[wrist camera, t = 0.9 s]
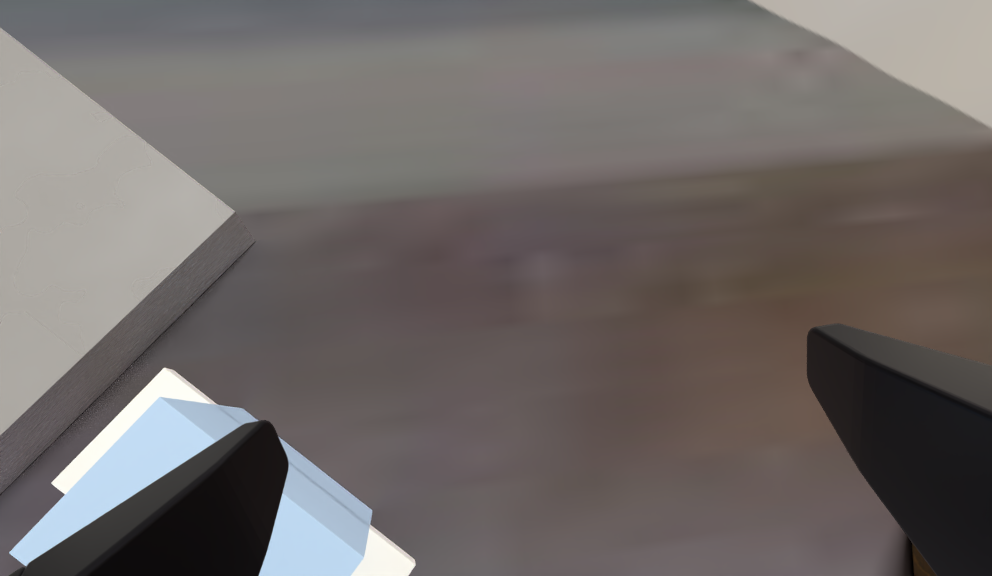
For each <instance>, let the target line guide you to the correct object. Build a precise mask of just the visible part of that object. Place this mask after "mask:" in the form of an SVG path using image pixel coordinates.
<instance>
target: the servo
mask: <svg viewBox="0 0 992 576" xmlns="http://www.w3.org/2000/svg"><path fill="white" fill-rule="evenodd" d="M255 421H258V420H257V419H255V418H254V417H253V416H251V415H250V414H249V413H248V412H246V411H245V410H244V409H243V408H236V407H229V406H222V405H217V404H216V403H215V402H213V401H212V400H211V399H210V398H208V397H207V396H206V395H204V394H203V393H202V392H201V391H199V390H198V389H197V388H196V387H194V386H193V385H192V384H190V383H189V382H188V381H187V380H185V379H184V378H183V377H182V376H180V375H179V374H178V373H176V372H175V371H174V370H171V369H168V368H164V369H163V370H162V371H161V372H160V373H159V374H158V375H157V376H156V377H155V378H154V379H153V380H152V381H151V382H150V383H149V384H148V385H147V386H146V387H145V388H144V389H143V390H142V391H141V392H140V393H139V394H138V395H137V396H136V397H135V398H134V399H133V400H132V401H131V402H130V403H129V404H128V405H127V406H126V407H125V408H124V409H123V410H122V411H121V412H120V413H119V414H118V415H117V417H116V418H115V419H114V420H113V421H112V422H111V423H110V424H109V425H108V426H107V427H106V428H105V429H104V430H103V431H102V432H101V433H100V434H99V435H98V436H97V437H96V438H95V439H94V440H93V441H92V442H91V443H90V444H89V445H88V446H87V447H86V448H85V449H84V450H83V451H82V452H81V453H80V454H79V455H78V456H77V457H76V458H75V459H74V460H73V461H72V462H71V463H70V464H69V465H68V466H67V467H66V468H65V470H64V471H63V472H62V473H61V474H60V475H59V476H58V477H57V478H56V479H55V480H54V481H53V482H52V483H51V484H53V485H54V486H55V487H56V488H58V489H59V490H60V491H61V492H63V493H64V494H65V495H64V496H63V497H62V498H61V499H60V500H59V502H58V503H57V504H56V505H55V506H54V507H53V508H52V509H51V510H50V511H49V512H48V513H47V514H46V515H45V516H44V517H43V518H42V519H41V520H40V521H39V522H38V523H37V524H36V525H35V526H34V527H33V528H32V530H31V531H30V532H29V533H28V534H27V535H26V536H25V537H24V538H23V539H22V540H21V541H20V542H19V543H18V544H17V545H16V546H15V547H14V548H13V549H12V550H11V551H10V552H9V553H10V554H11V555H12V556H13V557H15V558H16V559H17V560H19V561H20V562H21V563H22V564H24V565H25V566H27V564H28V563H29V562H31V561H32V560H34V559H35V558H37V557H38V556H40V555H42V554H43V553H45V552H46V551H48V550H49V549H51V548H52V547H54V546H55V545H57V544H59V543H60V542H62V541H63V540H65V539H66V538H68V537H69V536H71V535H72V534H74V533H76V532H77V531H79V530H80V529H82V528H83V527H85V526H86V525H88V524H89V523H91V522H93V521H94V520H96V519H97V518H99V517H100V516H102V515H103V514H105V513H106V512H108V511H110V510H111V509H113V508H114V507H116V506H117V505H119V504H120V503H122V502H124V501H125V500H127V499H128V498H130V497H131V496H133V495H134V494H136V493H137V492H139V491H141V490H142V489H144V488H145V487H147V486H148V485H150V484H151V483H153V482H154V481H156V480H158V479H159V478H161V477H162V476H164V475H165V474H167V473H168V472H170V471H171V470H173V469H175V468H176V467H178V466H179V465H181V464H182V463H184V462H185V461H187V460H188V459H190V458H192V457H193V456H195V455H196V454H198V453H199V452H201V451H202V450H204V449H206V448H207V447H209V446H210V445H212V444H213V443H215V442H216V441H218V440H219V439H221V438H223V437H224V436H226V435H227V434H229V433H230V432H232V431H233V430H235V429H236V428H238V427H240V426H241V425H243V424H245V423H250V422H255ZM279 439H280V441H281V443H282V446H283V448H284V450H285V452H286V454H287V457H288V462H289V468H288V474H287V478H286V482H285V486H284V489H283V493H282V497H281V501H280V505H279V509H278V513H277V516H276V520H275V524H274V528H273V532H272V536H271V540H270V543H269V546H268V550H267V553H266V556H265V559H264V562H263V565H262V568H261V571H260V573H259V576H408V575H409V574H410V572H411V571H412V569H413V568H414V567H415V565H416V564H415V559H413V558H412V557H411V556H409V555H408V554H407V553H406V552H404V551H403V550H402V549H401V548H399V547H398V546H397V545H395V544H394V543H393V542H392V541H390V540H389V539H388V538H387V537H385V536H384V535H383V534H381V533H380V532H379V531H378V530H376V529H375V528H374V527H373V526H371V525H370V522H371V516H372V510H371V509H370V508H369V507H367V506H366V505H365V504H364V503H362V502H361V501H360V500H358V499H357V498H356V497H355V496H353V495H352V494H351V493H350V492H348V491H347V490H346V489H344V488H343V487H342V486H341V485H339V484H338V483H337V482H336V481H334V480H333V479H332V478H330V477H329V476H328V475H327V474H325V473H324V472H323V471H322V470H320V469H319V468H318V467H316V466H315V465H314V464H313V463H311V462H310V461H309V460H307V459H306V458H305V457H304V456H302V455H301V454H300V453H299V452H297V451H296V450H295V449H293V448H292V447H291V446H290V445H288V444H287V443H286V442H285V441H283V440H282V439H281V438H279Z"/></svg>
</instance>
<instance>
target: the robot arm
mask: <svg viewBox="0 0 992 576" xmlns="http://www.w3.org/2000/svg"><path fill="white" fill-rule="evenodd" d="M807 378H808V382H809V385H810V387H811V389H812V391H813V393H814V394H815V396H816V398H817V399H818V401H819V403H820V405H821V406H822V408H823V410H824V411H825V413H826V415H827V417H828V418H829V420H830V422H831V424H832V425H833V427H834V429H835V430H836V432H837V434H838V436H839V437H840V439H841V441H842V443H843V444H844V446H845V448H846V449H847V451H848V453H849V455H850V456H851V458H852V459H853V461H854V463H855V464H856V466H857V468H858V469H859V471H860V472H861V474H862V475H863V476H864V478H865V479H866V481H867V482H868V483H869V485H870V486H871V488H872V489H873V490H874V492H875V493H876V494H877V496H878V497H879V498H880V500H881V501H882V502H883V504H884V505H885V506H886V508H887V509H888V510H889V512H890V513H891V515H892V516H893V517H894V519H895V520H896V521H897V523H898V524H899V525H900V527H901V528H902V529H903V531H904V532H905V533H906V535H907V536H908V537H909V539H910V540H911V541H912V543H913V544H914V546H915V547H916V548H917V550H918V551H919V552H920V554H921V555H922V556H923V558H924V559H925V560H926V562H927V563H928V564H929V566H930V567H931V568H932V570H933V571H934V572H935V574H936V575H937V576H992V365H988V364H984V363H981V362H977V361H973V360H970V359H966V358H962V357H959V356H955V355H952V354H948V353H944V352H941V351H937V350H933V349H930V348H926V347H923V346H919V345H915V344H912V343H908V342H904V341H901V340H897V339H894V338H890V337H886V336H883V335H879V334H875V333H872V332H868V331H864V330H861V329H857V328H854V327H850V326H846V325H843V324H830V325H824V326H818V327H814V328H811V329H810V331H809V332H808V335H807ZM288 468H289V462H288V457H287V454H286V452H285V450H284V448H283V446H282V443H281V441H280V439H279V437H278V435H277V433H276V430H275V428H274V426H273V425H272V424H271V423H270V422H269V421H266V420H261V421H255V422H250V423H245V424H243V425H241V426H240V427H238V428H236V429H235V430H233V431H232V432H230V433H229V434H227V435H226V436H224V437H223V438H221V439H219V440H218V441H216V442H215V443H213V444H212V445H210V446H209V447H207V448H206V449H204V450H202V451H201V452H199V453H198V454H196V455H195V456H193V457H192V458H190V459H188V460H187V461H185V462H184V463H182V464H181V465H179V466H178V467H176V468H175V469H173V470H171V471H170V472H168V473H167V474H165V475H164V476H162V477H161V478H159V479H158V480H156V481H154V482H153V483H151V484H150V485H148V486H147V487H145V488H144V489H142V490H141V491H139V492H137V493H136V494H134V495H133V496H131V497H130V498H128V499H127V500H125V501H124V502H122V503H120V504H119V505H117V506H116V507H114V508H113V509H111V510H110V511H108V512H106V513H105V514H103V515H102V516H100V517H99V518H97V519H96V520H94V521H93V522H91V523H89V524H88V525H86V526H85V527H83V528H82V529H80V530H79V531H77V532H76V533H74V534H72V535H71V536H69V537H68V538H66V539H65V540H63V541H62V542H60V543H59V544H57V545H55V546H54V547H52V548H51V549H49V550H48V551H46V552H45V553H43V554H42V555H40V556H38V557H37V558H35V559H34V560H32V561H31V562H29V563H28V564H27V566H26V567H22V568H20V569H18V570H17V571H15V572H13V573H12V574H10V575H9V576H259V573H260V571H261V568H262V565H263V562H264V559H265V556H266V553H267V550H268V546H269V543H270V540H271V536H272V532H273V528H274V524H275V520H276V516H277V513H278V509H279V505H280V501H281V497H282V493H283V489H284V486H285V482H286V478H287V474H288Z"/></svg>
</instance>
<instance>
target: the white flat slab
mask: <svg viewBox="0 0 992 576" xmlns="http://www.w3.org/2000/svg"><path fill="white" fill-rule="evenodd" d="M254 242H255V239H254V238H253V237H252V235H251V234H250V232H249V231H248V229H247V228H246V227H245V225H244V224H243V222H242V221H241V219H240V218H239V217H238V215H237V214H236V212H235V211H234V210H232V209H231V208H230V207H228V206H227V205H226V204H225V203H223V202H222V201H221V200H220V199H218V198H217V197H216V196H214V195H213V194H212V193H211V192H209V191H208V190H207V189H205V188H204V187H203V186H202V185H200V184H199V183H198V182H197V181H195V180H194V179H193V178H191V177H190V176H189V175H188V174H186V173H185V172H184V171H183V170H181V169H180V168H179V167H177V166H176V165H175V164H174V163H172V162H171V161H170V160H169V159H167V158H166V157H165V156H163V155H162V154H161V153H160V152H158V151H157V150H156V149H154V148H153V147H152V146H151V145H149V144H148V143H147V142H146V141H144V140H143V139H142V138H140V137H139V136H138V135H137V134H135V133H134V132H133V131H132V130H130V129H129V128H128V127H126V126H125V125H124V124H123V123H121V122H120V121H119V120H117V119H116V118H115V117H114V116H112V115H111V114H110V113H109V112H107V111H106V110H105V109H103V108H102V107H101V106H100V105H98V104H97V103H96V102H95V101H93V100H92V99H91V98H89V97H88V96H87V95H86V94H84V93H83V92H82V91H80V90H79V89H78V88H77V87H75V86H74V85H73V84H72V83H70V82H69V81H68V80H66V79H65V78H64V77H63V76H61V75H60V74H59V73H58V72H56V71H55V70H54V69H52V68H51V67H50V66H49V65H47V64H46V63H45V62H43V61H42V60H41V59H40V58H38V57H37V56H36V55H35V54H33V53H32V52H31V51H29V50H28V49H27V48H26V47H24V46H23V45H22V44H21V43H19V42H18V41H17V40H15V39H14V38H13V37H12V36H10V35H9V34H8V33H6V32H5V31H4V30H3V29H1V28H0V494H1V493H2V492H3V491H4V490H5V489H6V488H7V487H8V486H9V485H10V484H11V483H12V482H13V481H14V480H15V479H16V478H17V477H18V476H19V475H20V474H21V473H22V472H23V471H24V470H25V469H26V468H27V467H28V466H29V465H30V464H31V463H32V462H33V461H34V460H35V459H36V458H37V457H38V456H39V455H41V454H42V453H43V452H44V451H45V450H46V449H47V448H48V447H49V446H50V445H51V444H52V443H53V442H54V441H55V440H56V439H57V438H58V437H59V436H60V435H61V434H62V433H63V432H64V431H65V430H66V429H67V428H68V427H69V426H70V425H71V424H72V423H73V422H74V421H75V420H76V419H77V418H78V417H79V416H80V415H81V414H82V413H83V412H84V411H85V410H86V409H87V408H88V407H89V406H90V405H91V404H92V403H93V402H94V401H95V400H96V399H97V398H98V397H99V396H100V395H101V394H102V393H103V392H104V391H105V390H106V389H107V388H108V387H109V386H110V385H111V384H112V383H113V382H114V381H115V380H116V379H117V378H118V377H119V376H120V375H121V374H122V373H123V372H124V371H125V370H126V369H127V368H128V367H129V366H130V365H131V364H132V363H133V362H134V361H135V360H136V359H137V358H138V357H139V356H140V355H141V354H142V353H143V352H144V351H145V350H146V349H147V348H148V347H149V346H150V345H151V344H152V343H153V342H154V341H155V340H156V339H157V338H158V337H159V336H160V335H161V334H162V333H163V332H164V331H165V330H166V329H168V328H169V327H170V326H171V325H172V324H173V323H174V322H175V321H176V320H177V319H178V318H179V317H180V316H181V315H182V314H183V313H184V312H185V311H186V310H187V309H188V308H189V307H190V306H191V305H192V304H193V303H194V302H195V301H196V300H197V299H198V298H199V297H200V296H201V295H202V294H203V293H204V292H205V291H206V290H207V289H208V288H209V287H210V286H211V285H212V284H213V283H214V282H215V281H216V280H217V279H218V278H219V277H220V276H221V275H222V274H223V273H224V272H225V271H226V270H227V269H228V268H229V267H230V266H231V265H232V264H233V263H234V262H235V261H236V260H237V259H238V258H239V257H240V256H241V255H242V254H243V253H244V252H245V251H246V250H247V249H248V248H249V247H250V246H251V245H252V244H253V243H254Z"/></svg>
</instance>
